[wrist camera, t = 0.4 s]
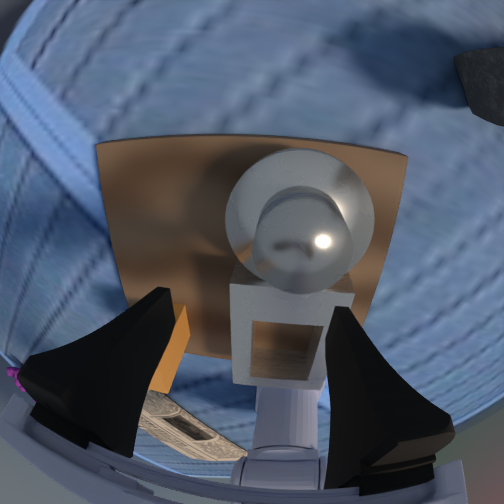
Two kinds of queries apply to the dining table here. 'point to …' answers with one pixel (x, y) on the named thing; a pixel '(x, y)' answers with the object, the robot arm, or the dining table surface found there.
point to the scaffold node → (293, 259)
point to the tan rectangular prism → (172, 352)
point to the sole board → (219, 224)
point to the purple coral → (15, 376)
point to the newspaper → (184, 430)
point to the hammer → (483, 82)
